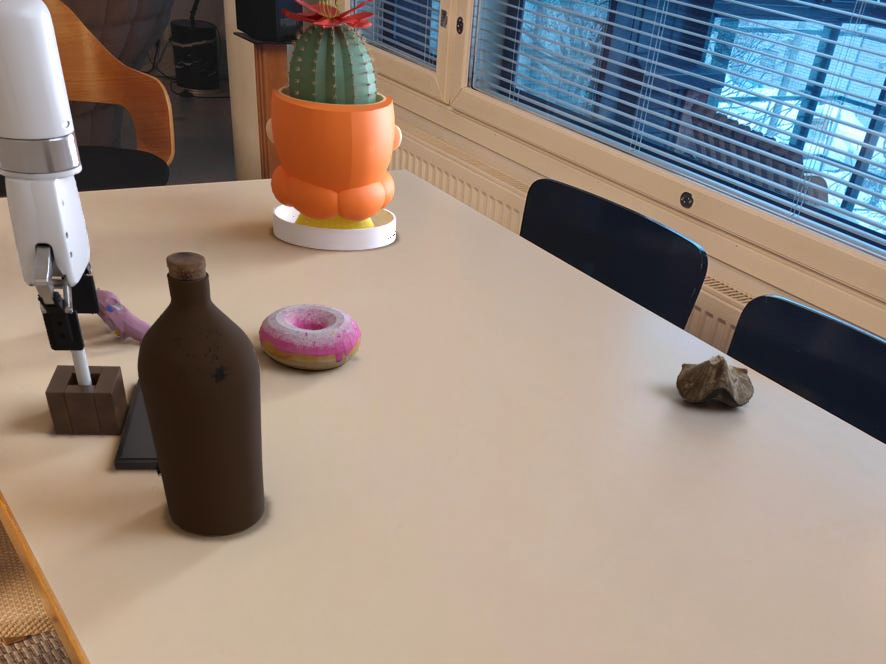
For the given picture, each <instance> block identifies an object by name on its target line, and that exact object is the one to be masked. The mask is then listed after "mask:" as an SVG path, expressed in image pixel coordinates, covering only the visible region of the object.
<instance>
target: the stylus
mask: <svg viewBox="0 0 886 664" xmlns="http://www.w3.org/2000/svg"><path fill="white" fill-rule="evenodd" d="M70 354H71V358H72V363H73V365H74V368H75V372H76V377H77V381H78V385H92V382H91V378H90V373H89V368H88V366H89V364H88V360H87V359H88V358H87V353H86V349H85V348H84V349H83V350H82V351H70Z"/></svg>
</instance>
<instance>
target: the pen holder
mask: <svg viewBox="0 0 886 664" xmlns="http://www.w3.org/2000/svg"><path fill="white" fill-rule="evenodd" d="M88 368H89V373H90V378H91V382H92V385H78V381H77V377H76V372H75V368H74V364H73V365H70V364H69V365H67V364H57V365H56V368H55V370H54V372H53V374H52V376H51V378H50V381H49V383H48V385H47V387H46V388H45V389H46V390H45V392H44V394H45V398H46V402H47V406H48V409H49V410H48V411H49V414H50V417H51V423H52V426H53V430H54V434H55V435H120V434H121V430H122V427H123V424H124V420H125V418H126V415H127V411H128V407H129V405H128V399H127V394H126V393H127V392H126V389H125V384H124V383H125V382H124V378H123V372H122V367H121V366H120V365H88Z"/></svg>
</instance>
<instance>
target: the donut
mask: <svg viewBox="0 0 886 664" xmlns="http://www.w3.org/2000/svg"><path fill="white" fill-rule="evenodd" d="M258 340H259V343H260V346H261V347H262V349H263V352H265V354H267V355H268V356H269V357H271V358H272V359H273V360H274V361H276V362H277V363H279V364H282V365H284V366H287V367H289V368H295V369H299V370H309V371H323V370H330V369H334V368H337V367H340V366H342V365H345V364H346V363H348V362H350V361H351V360H352V359H353V358H354V357H355V356H356V355H357V354H358V351H359V350H360V347H361V344H362V331H361V330H360V327H359V324H358V322H357V321H356V320H355V319H354V318H353V317H352V316H350V315H349V314H348V313H347V312H345V311H343V310H341V309H339V308H336V307H333V306H329V305H323V304H316V303H315V304H313V303H312V304H311V303H308V304H307V303H305V304H294V305H288V306H284V307H281V308H278V309H276V310H274V311H273V312H272V313H270V314H269V315H267V316H266V317H265V318H264V319H263V320H262V323H261V325H260V327H259V330H258Z"/></svg>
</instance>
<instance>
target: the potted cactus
mask: <svg viewBox="0 0 886 664" xmlns="http://www.w3.org/2000/svg"><path fill="white" fill-rule="evenodd" d="M292 1H293V2H295V3H297V4H298V5H300V6H302V7H303V8H305V9H307V10H309V13H307V12H298V13H296V12H293V11H290V10H288V9H286V8H282V9H281V15H283V16H285V17H286V18H289V19H292V20H295V21H300V22H304V23H308V24H306V25H303V26H302V25H301V27H300V30H301V32H302V34H301V33H300V31H298V32H297V33H295V36H297V39H298V40H297V41H295V40H292V42H291V45H290V46H292V47H293V48H294V49H293V51H292V50H291V49H290V48H288V50H289V51H288V50H286V52H287V54H288V57H289V56H290V57H291V58H290V61H289V60H287V61H286V63H285V66H287V67H284V68H289V71H288V70H286V71H284V72H283V74H284V76H286V77H287V78H288V81H286V80H285V85H284V86H282V87H280V88H279V89H278V88H272V90H271V100H270V118H269V119H268V120H267V122H266V125H265V133H266V136H267V139H268V140H269V141H270V142H271V143H272V144H274V148H275V152H276V154H277V156H278V160H279V161H280V165H278V166H277V167H276V168H275V169H274V170H273V173H272V175H271V179H270V180H271V181H270V187H271V192H272V194H273V196H274V198H275V199H276V200H277V201H278V202H279V205H277V206H275V207H274V208H273V209H272V212H271V213H272V228H273V229H272V230H273V235H274V236H275V237H276V238H277V239H279V240H281V241H282V242H283V241H284V242H286V243H288V244H291V245H295V246H299V247H304V248H310V249H318V250H325V251H326V250H327V251H365V250H372V249H378V248H381V247H385V246H388V245H390V244H392V243H393V242H395V240H396V232H397V231H396V227H397V226H396V225H397V217H396V214H394V212H392V211H390V210H388V209H386V208H385V207H387V206H388V205H389V204H390V203H391V202H392V200H393V198H394V195H395V189H396V188H395V182H394V178H393V177H392V175H391V174H390V173H389V172H388V171H387V170H388V167H389V165H390V163H391V159H392V154H393V151H395V150H397V149H398V148H399V147H400V145H401V143H402V139H403V135H402V129H400V127H399V126H398V125H397V124H395V122H396V121H395V120H396V119H395V109H394V101H393V98H392V96H390V95H388V96H385V95H384V94H383V93H381V92H379V91H377V90H379V87H377V85H376V84H378V85H380V81H381V80H376V79H377V78H379V76H377V77H375V74H379V71H378V66H377V67H375V68H374V65H373V64H372V63H374V62H376V58H375V56H374V54H372V53H373V51H372V48H369V46H370V45H368V46H367V48H366V46H365V45H366V44H367V43H369V40H367V37H365V35H363V37H364V38H362V39H361V37H360V36H361V34H363V32H364V31H363V32H362V30H359V29H368V28H371V26H373V23H372V21H371V20H368V19H370V18H372V17H375V16H376V14H375V13H374V12H372V11H360V12H357V13H356V12H355V11H356V10H359V9H361V8H363V7H364V6H365V5H366V4H368V3H370V2H375V0H365V1H361V2H360V3H359V4H357V5H356V6H354V7H352V8H351V9H348V10H346V11H344V12H342V10H340V9H339V8H340V7H342V6H343V4H342V2H339V1H337V0H336V2H335V4H336V6H337V7H335V6H333V3H332V0H326V2H325V1H324V0H322V2H321V0H319V3H315V4H312V5H310V4H308V3H307V2H306V1H304V0H292ZM329 4H330V5H329ZM353 12H355V13H353ZM352 13H353V14H352ZM354 29H357V30H356V31H354ZM366 40H367V41H366ZM370 54H371V56H370ZM376 87H377V88H376ZM298 215H299V216H298ZM293 216H294V217H293ZM371 218H374V219H377V220H380V221H383V222H385V223H387V224H384V223H381V222H379V221H375V220H372V219H371ZM395 231H396V232H395ZM394 234H395V235H394ZM393 235H394V236H393ZM390 237H391V238H390ZM388 238H389V239H388Z"/></svg>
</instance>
